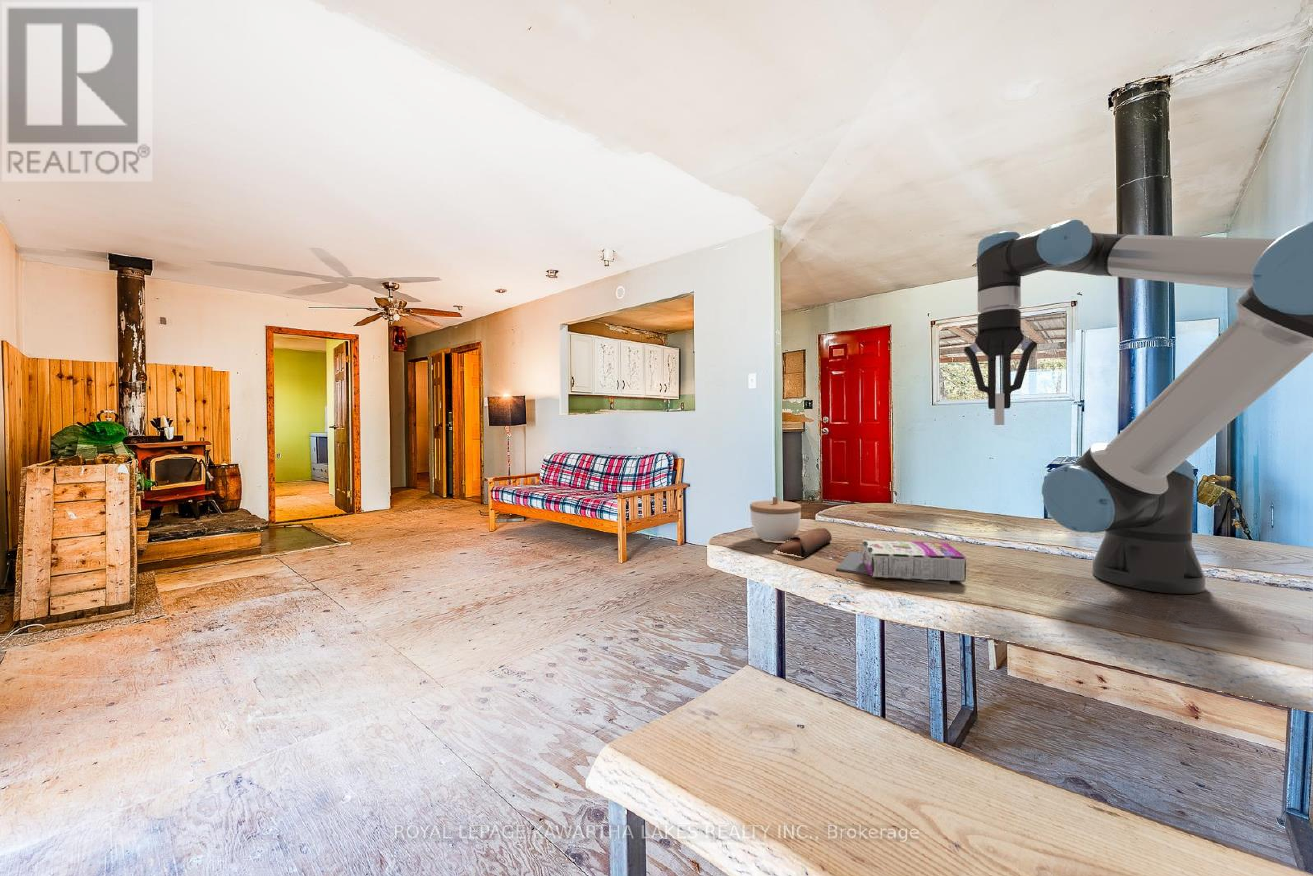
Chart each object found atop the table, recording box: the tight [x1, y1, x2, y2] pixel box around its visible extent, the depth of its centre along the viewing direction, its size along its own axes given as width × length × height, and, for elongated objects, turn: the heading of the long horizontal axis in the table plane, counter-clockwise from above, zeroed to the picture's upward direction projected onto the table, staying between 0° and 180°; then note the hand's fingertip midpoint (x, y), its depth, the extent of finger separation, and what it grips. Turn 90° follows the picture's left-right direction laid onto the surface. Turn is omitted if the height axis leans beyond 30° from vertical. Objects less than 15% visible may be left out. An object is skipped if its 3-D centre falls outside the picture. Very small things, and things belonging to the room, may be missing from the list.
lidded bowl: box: [749, 496, 802, 541], centre depth 132 cm, size 13×13×11 cm
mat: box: [835, 551, 951, 587], centre depth 107 cm, size 20×15×1 cm
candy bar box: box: [861, 539, 967, 582], centre depth 102 cm, size 11×5×16 cm
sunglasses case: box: [775, 527, 833, 558], centre depth 124 cm, size 18×7×7 cm
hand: (999, 424), depth 109 cm, fingers closed
